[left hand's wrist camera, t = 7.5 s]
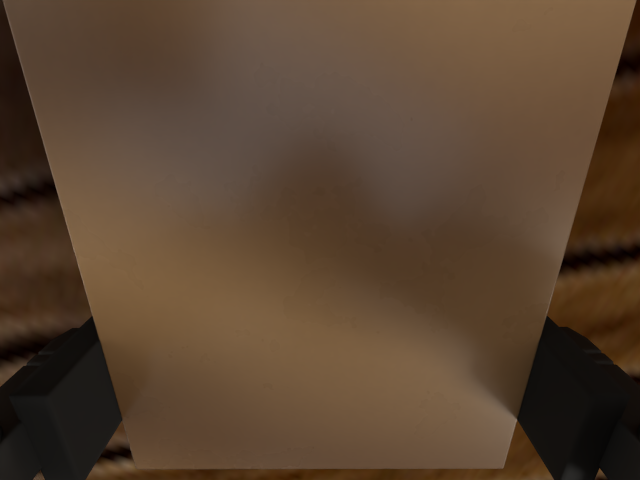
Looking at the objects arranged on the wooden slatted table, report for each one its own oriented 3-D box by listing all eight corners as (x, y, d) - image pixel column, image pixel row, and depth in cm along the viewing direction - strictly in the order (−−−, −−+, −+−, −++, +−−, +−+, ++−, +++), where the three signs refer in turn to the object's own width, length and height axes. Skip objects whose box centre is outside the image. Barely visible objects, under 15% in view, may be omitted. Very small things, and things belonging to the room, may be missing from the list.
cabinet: (144, -244, 11) (-349, -1219, 3) (493, -244, 11) (982, -1209, 3) (216, 307, 18) (135, 470, 10) (422, 307, 18) (503, 469, 10)
